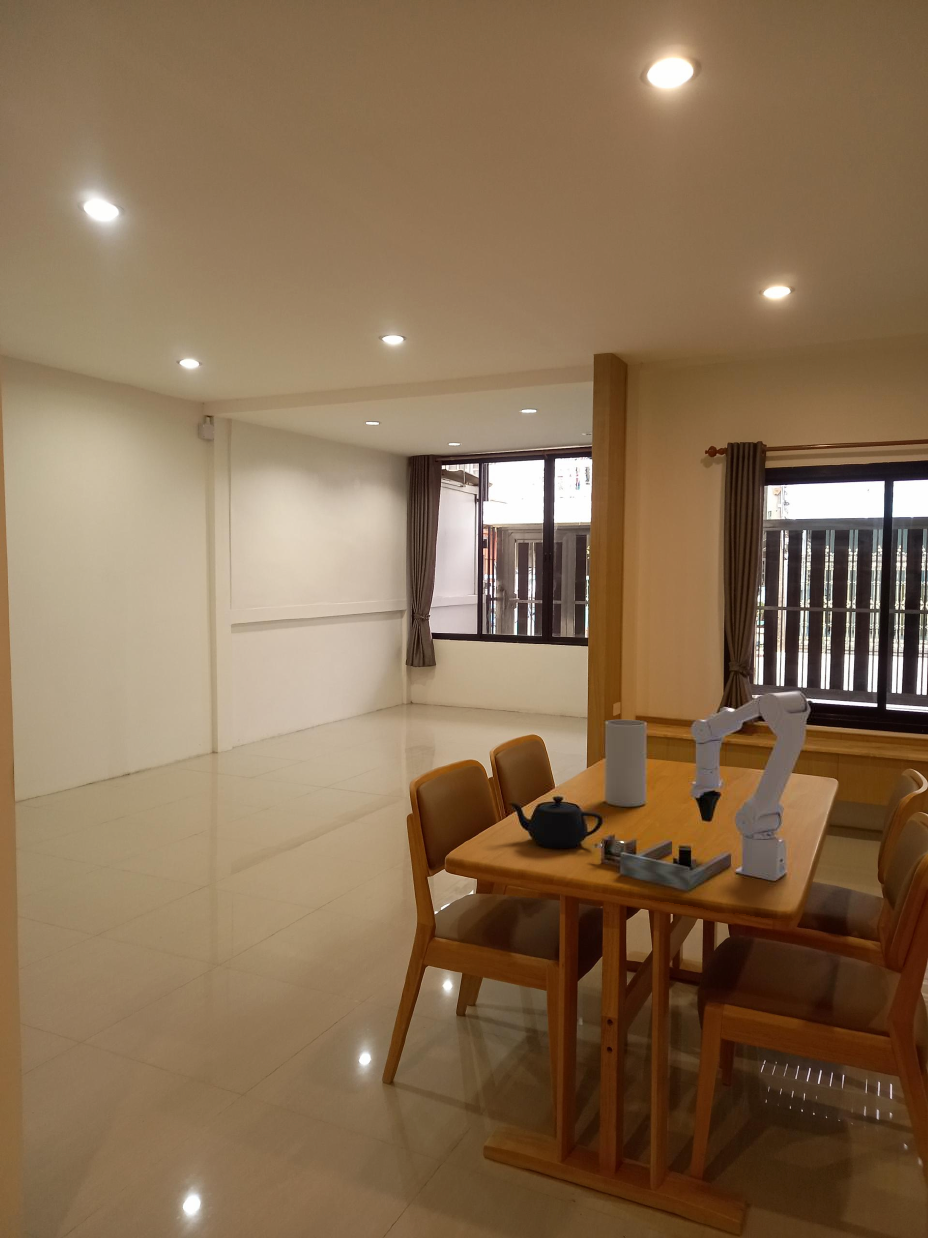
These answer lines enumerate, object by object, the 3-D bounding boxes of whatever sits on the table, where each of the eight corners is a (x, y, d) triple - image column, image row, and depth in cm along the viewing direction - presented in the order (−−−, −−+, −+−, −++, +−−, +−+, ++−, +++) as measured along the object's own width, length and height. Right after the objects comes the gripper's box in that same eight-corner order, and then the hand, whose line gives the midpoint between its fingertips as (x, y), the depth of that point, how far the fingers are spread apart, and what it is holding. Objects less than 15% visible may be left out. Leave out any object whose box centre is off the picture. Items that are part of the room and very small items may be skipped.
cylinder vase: (638, 809, 261) (638, 727, 260) (599, 804, 267) (599, 724, 266) (651, 800, 272) (651, 721, 271) (613, 796, 278) (613, 718, 277)
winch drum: (636, 863, 210) (636, 839, 210) (626, 868, 206) (626, 844, 206) (603, 856, 216) (603, 832, 216) (592, 861, 212) (592, 836, 212)
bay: (731, 865, 209) (731, 844, 209) (688, 891, 191) (688, 868, 191) (666, 851, 220) (666, 832, 220) (620, 874, 202) (620, 853, 202)
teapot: (606, 838, 231) (606, 793, 231) (598, 856, 216) (598, 807, 216) (515, 831, 238) (515, 787, 238) (501, 847, 224) (501, 800, 223)
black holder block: (670, 858, 217) (670, 839, 217) (700, 860, 215) (700, 841, 215) (669, 873, 205) (669, 854, 205) (701, 876, 203) (701, 856, 203)
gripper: (705, 760, 225) (704, 812, 226) (679, 769, 214) (679, 824, 215) (731, 764, 221) (730, 817, 221) (706, 773, 210) (705, 829, 210)
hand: (706, 820), depth 218 cm, fingers closed
